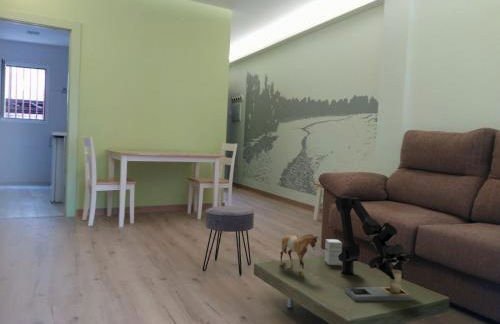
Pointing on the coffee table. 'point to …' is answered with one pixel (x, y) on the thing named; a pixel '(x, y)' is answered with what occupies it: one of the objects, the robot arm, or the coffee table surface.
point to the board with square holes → (376, 294)
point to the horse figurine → (297, 247)
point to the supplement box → (333, 251)
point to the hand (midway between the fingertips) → (398, 278)
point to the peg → (395, 282)
